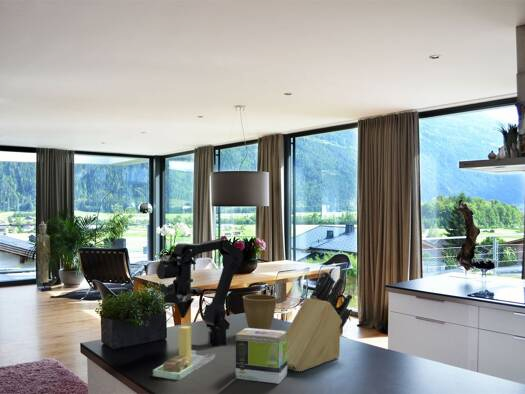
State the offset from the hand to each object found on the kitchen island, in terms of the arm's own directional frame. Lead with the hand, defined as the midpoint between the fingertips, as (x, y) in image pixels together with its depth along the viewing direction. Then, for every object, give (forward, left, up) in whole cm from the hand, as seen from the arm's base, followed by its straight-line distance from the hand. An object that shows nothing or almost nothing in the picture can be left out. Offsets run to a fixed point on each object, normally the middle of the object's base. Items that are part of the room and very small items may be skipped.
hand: (182, 317), depth 191 cm
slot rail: (+1, +17, -13) cm, 21 cm away
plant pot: (-38, -14, -13) cm, 43 cm away
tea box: (-17, +36, -13) cm, 42 cm away
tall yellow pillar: (+5, +20, -12) cm, 24 cm away
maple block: (+7, +23, -12) cm, 27 cm away
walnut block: (+10, +26, -12) cm, 30 cm away
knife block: (-42, +27, -13) cm, 52 cm away
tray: (+10, +25, -13) cm, 30 cm away
